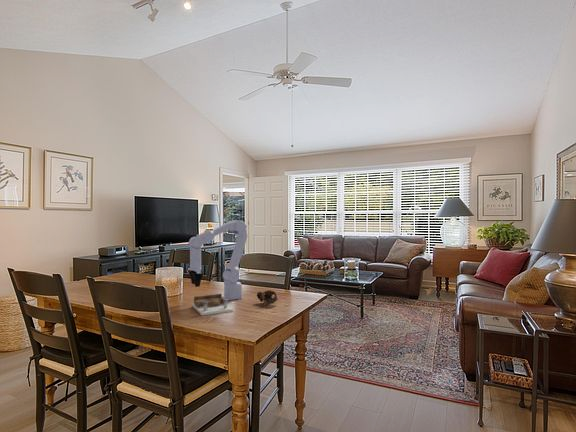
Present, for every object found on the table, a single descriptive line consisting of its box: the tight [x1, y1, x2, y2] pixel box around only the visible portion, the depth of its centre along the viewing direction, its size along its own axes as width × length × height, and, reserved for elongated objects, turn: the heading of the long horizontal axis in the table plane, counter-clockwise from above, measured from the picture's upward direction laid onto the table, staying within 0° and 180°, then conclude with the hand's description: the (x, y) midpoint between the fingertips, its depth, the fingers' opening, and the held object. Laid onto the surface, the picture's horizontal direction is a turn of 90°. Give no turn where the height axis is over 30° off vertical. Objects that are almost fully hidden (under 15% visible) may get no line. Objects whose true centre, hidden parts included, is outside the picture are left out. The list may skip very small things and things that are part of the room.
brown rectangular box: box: [193, 293, 224, 308], centre depth 171 cm, size 14×9×4 cm, turn 119°
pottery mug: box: [256, 289, 279, 307], centre depth 178 cm, size 12×10×8 cm
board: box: [192, 299, 234, 316], centre depth 168 cm, size 15×18×5 cm
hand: (195, 285), depth 179 cm, fingers open, 7 cm apart
